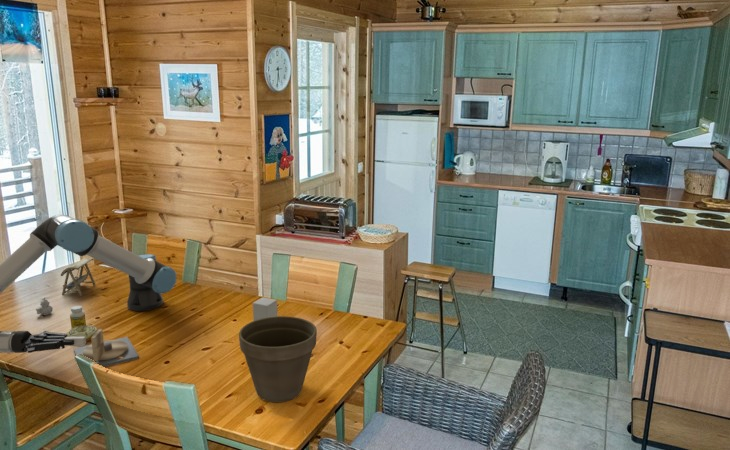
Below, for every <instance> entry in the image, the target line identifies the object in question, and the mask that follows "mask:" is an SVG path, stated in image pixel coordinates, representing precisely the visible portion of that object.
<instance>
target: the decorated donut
mask: <svg viewBox="0 0 730 450" xmlns="http://www.w3.org/2000/svg"><path fill="white" fill-rule="evenodd" d="M97 331H98V328H97V327H96V326H94V325H89V324H88V325H87V324H86V326H78V327H75V328H71V329H69V330H68V332H67V333H66V334H67V335H68V337H85V338H86V343H87V342H89V340H90V341H91V337H92V336H93V335H94V334H95V333H96V332H97Z"/></svg>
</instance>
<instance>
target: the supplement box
mask: <svg viewBox="0 0 730 450" xmlns="http://www.w3.org/2000/svg"><path fill="white" fill-rule="evenodd" d="M252 315H253V319H252V321H255V320H258V319H262V318H267V317H275V316H278V299H274V298H268V297H261V298H259V299H257V300H255V301H253V302H252Z"/></svg>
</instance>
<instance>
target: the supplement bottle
mask: <svg viewBox="0 0 730 450" xmlns="http://www.w3.org/2000/svg"><path fill="white" fill-rule="evenodd" d="M69 319H70V326H71V329H72V328H75V327H78V326H87V322H86V321H87V320H86V314H85V311H84V310H83V306H82V305H74V306H71V308H70V313H69Z"/></svg>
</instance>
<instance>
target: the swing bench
mask: <svg viewBox="0 0 730 450" xmlns="http://www.w3.org/2000/svg"><path fill="white" fill-rule="evenodd" d="M94 259H95V258H93V257H83V258H81V259H79V260H78V261H77V262H76V263H74V264H73V265H70V266H69V267H66V268H65V269H63V271H62V272H61V273H60V276H61V277H63V276H64V275H65V279H64V282H63V283H64V284H63V285H62V287H63V289H62V293H61V295H62V296H65V295H66V293H75V294H77V293H78V295H79V296H80V297H82V296H83V293H82V291H81V288H80V286H81V284H82V283H85V284H86V283H90V284H92V285H93V287H94V286H97V284H96V282H95V279H94V277H93V275H92V273H91V270H90V267H89V266H88V264H89V263H90V262H91V261H94ZM75 270H76V271H77V274H76V275H74V274H73V271H75ZM84 270H85V271H86V274H83V272H84ZM69 276H70V277H71V279H72V280H71V281H70V282H68V280H69ZM88 277H89V278H90V281H89V280H87V279H88ZM75 288H76V290H77V291H76V290H73V289H75Z"/></svg>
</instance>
